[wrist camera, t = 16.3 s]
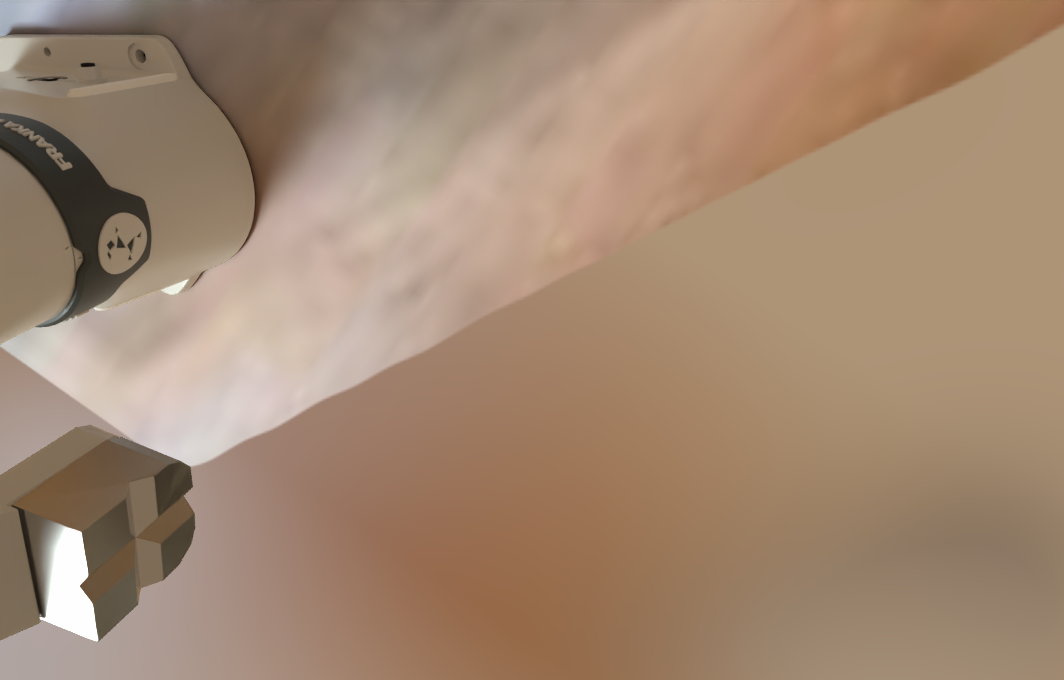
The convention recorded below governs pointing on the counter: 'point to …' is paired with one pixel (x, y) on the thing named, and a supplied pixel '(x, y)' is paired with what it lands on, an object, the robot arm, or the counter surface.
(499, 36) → the counter surface
